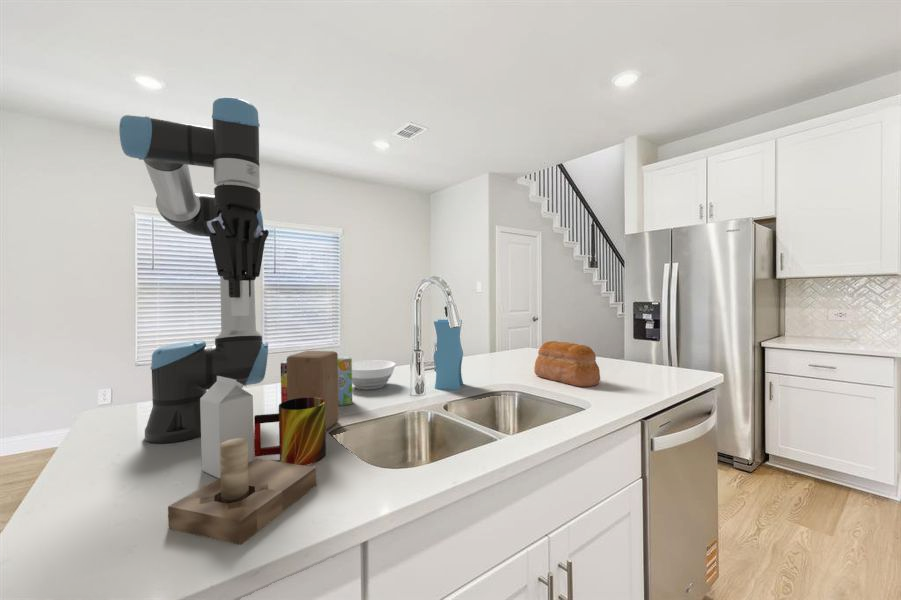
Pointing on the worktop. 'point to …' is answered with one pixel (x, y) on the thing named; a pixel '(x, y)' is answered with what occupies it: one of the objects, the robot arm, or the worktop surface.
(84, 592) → the worktop surface
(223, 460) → the peg
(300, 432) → the mug
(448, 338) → the vase
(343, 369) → the snack box
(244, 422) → the milk carton
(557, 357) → the bread
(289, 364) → the wooden block
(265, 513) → the board
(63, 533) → the worktop surface
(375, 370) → the bowl
